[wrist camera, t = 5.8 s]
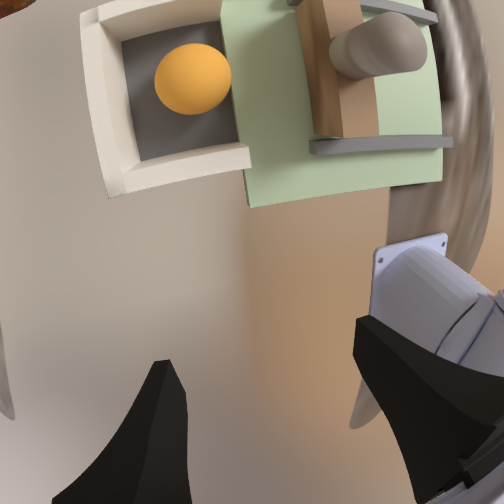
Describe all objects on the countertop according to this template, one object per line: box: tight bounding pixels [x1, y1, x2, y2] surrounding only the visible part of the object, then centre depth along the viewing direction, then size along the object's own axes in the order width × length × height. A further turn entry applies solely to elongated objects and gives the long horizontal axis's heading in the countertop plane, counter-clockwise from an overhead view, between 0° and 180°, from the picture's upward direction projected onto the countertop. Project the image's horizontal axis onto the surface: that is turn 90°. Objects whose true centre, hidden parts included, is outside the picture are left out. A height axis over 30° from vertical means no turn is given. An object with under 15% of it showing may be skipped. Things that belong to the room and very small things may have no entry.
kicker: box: [295, 0, 427, 138], centre depth 11 cm, size 8×2×8 cm, turn 8°
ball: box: [155, 43, 232, 115], centre depth 13 cm, size 4×4×4 cm
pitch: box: [80, 0, 453, 208], centre depth 14 cm, size 16×22×4 cm
